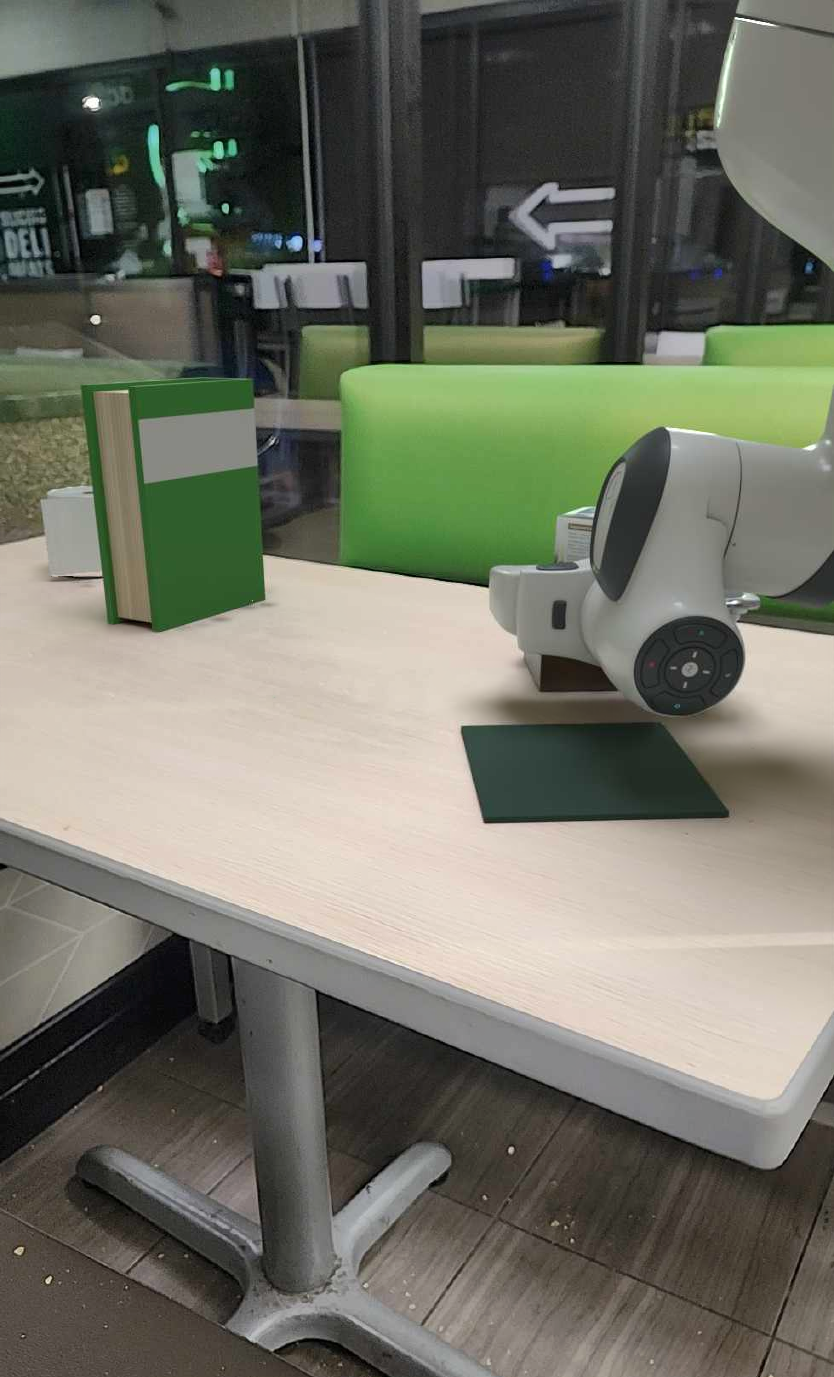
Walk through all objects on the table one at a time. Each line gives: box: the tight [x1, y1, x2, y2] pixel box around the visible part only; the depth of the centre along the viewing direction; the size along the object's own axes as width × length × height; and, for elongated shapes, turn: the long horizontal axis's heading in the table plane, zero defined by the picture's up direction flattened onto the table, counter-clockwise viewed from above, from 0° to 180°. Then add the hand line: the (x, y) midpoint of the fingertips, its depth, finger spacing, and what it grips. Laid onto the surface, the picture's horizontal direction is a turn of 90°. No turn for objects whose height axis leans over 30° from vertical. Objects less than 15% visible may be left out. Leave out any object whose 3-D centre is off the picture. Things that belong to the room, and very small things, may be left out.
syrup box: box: [553, 506, 596, 564], centre depth 101 cm, size 6×6×14 cm
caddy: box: [523, 652, 619, 692], centre depth 102 cm, size 11×11×5 cm
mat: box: [460, 721, 730, 823], centre depth 81 cm, size 16×18×1 cm
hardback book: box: [80, 376, 266, 633], centre depth 122 cm, size 18×7×24 cm, turn 148°
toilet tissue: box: [39, 485, 103, 578], centre depth 145 cm, size 11×12×10 cm
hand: (597, 572), depth 98 cm, fingers open, 8 cm apart
